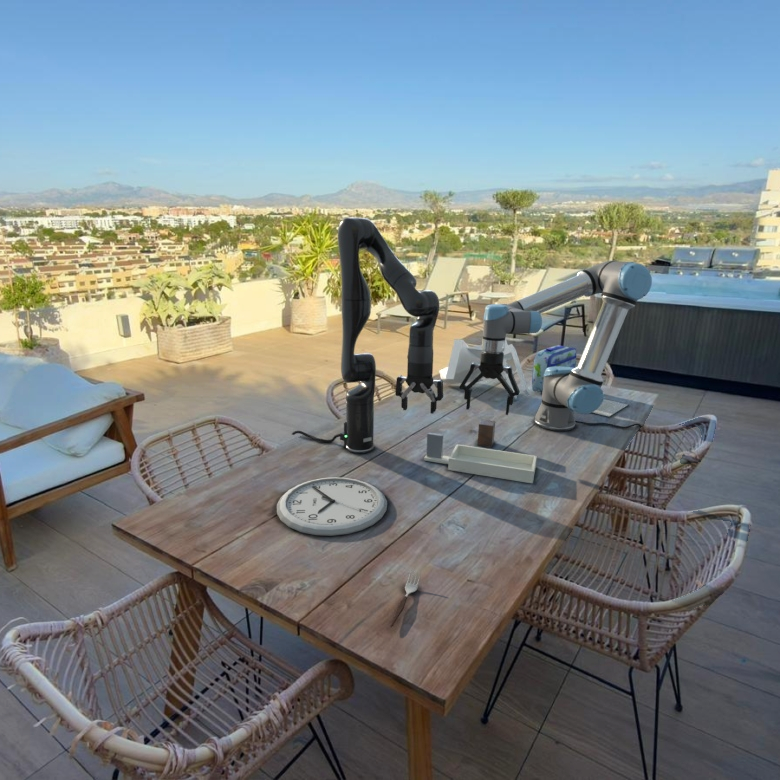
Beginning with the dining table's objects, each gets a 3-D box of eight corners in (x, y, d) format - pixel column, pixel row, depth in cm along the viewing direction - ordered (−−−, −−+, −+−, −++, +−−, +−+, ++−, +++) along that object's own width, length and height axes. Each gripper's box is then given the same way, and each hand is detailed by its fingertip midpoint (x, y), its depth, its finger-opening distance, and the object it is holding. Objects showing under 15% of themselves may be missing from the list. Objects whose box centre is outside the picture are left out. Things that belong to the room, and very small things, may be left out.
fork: (384, 627, 99) (384, 618, 99) (410, 577, 114) (410, 569, 113) (397, 631, 99) (397, 622, 98) (421, 580, 113) (421, 572, 112)
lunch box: (548, 398, 236) (553, 353, 229) (527, 393, 243) (531, 349, 237) (575, 387, 253) (581, 344, 247) (555, 382, 260) (560, 341, 254)
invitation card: (608, 416, 214) (573, 407, 224) (608, 416, 214) (573, 408, 224) (628, 404, 229) (594, 396, 238) (628, 405, 229) (594, 397, 238)
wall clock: (392, 527, 129) (268, 531, 127) (391, 533, 130) (269, 537, 127) (383, 473, 158) (282, 475, 155) (383, 478, 158) (282, 480, 156)
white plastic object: (461, 429, 252) (437, 405, 227) (444, 352, 274) (420, 323, 250) (535, 404, 240) (518, 377, 215) (510, 326, 262) (492, 293, 237)
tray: (535, 467, 168) (538, 441, 165) (532, 483, 157) (535, 456, 154) (430, 451, 178) (431, 426, 176) (420, 465, 168) (421, 439, 165)
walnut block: (493, 442, 187) (495, 421, 185) (491, 447, 182) (493, 426, 180) (479, 440, 188) (481, 419, 186) (477, 445, 184) (478, 424, 182)
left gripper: (446, 358, 156) (444, 410, 160) (400, 354, 160) (399, 404, 165) (441, 364, 149) (438, 418, 154) (393, 360, 153) (392, 412, 158)
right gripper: (531, 352, 175) (525, 412, 181) (458, 345, 183) (454, 403, 189) (529, 357, 168) (523, 419, 175) (453, 349, 176) (449, 409, 182)
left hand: (418, 411), depth 159 cm, fingers open, 8 cm apart
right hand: (487, 411), depth 182 cm, fingers open, 13 cm apart
